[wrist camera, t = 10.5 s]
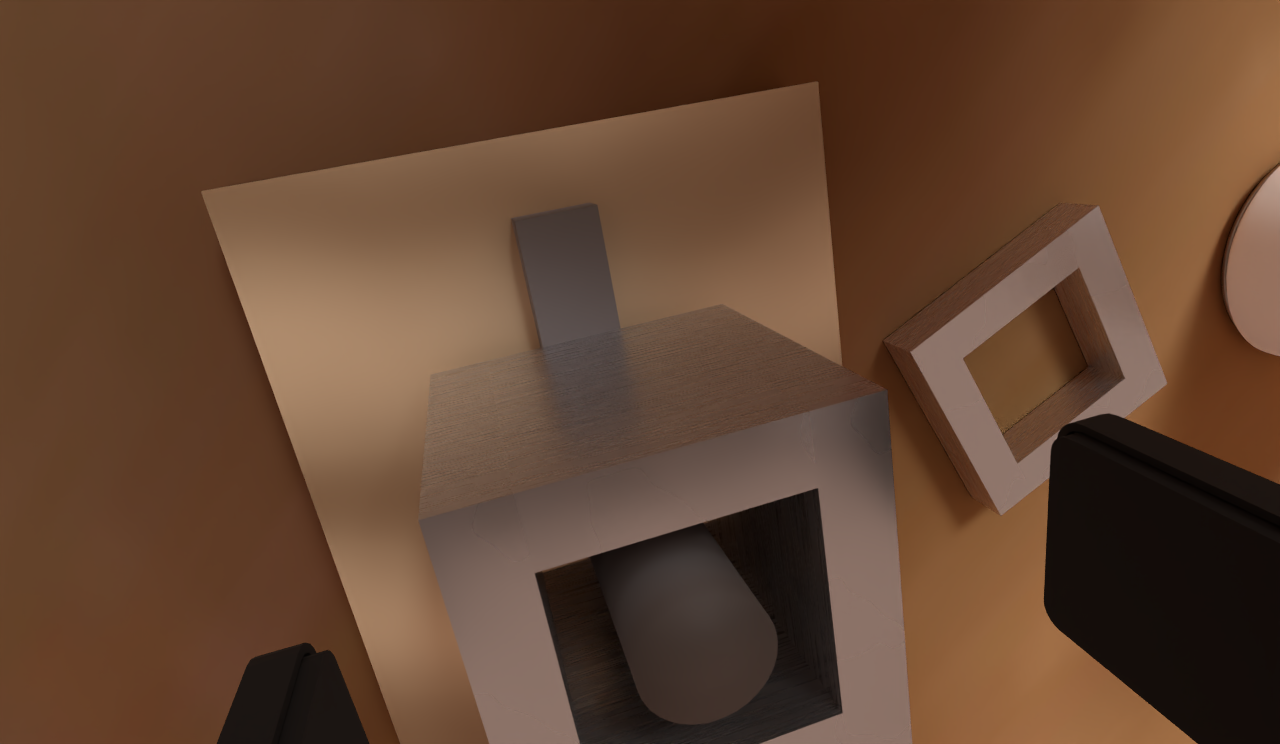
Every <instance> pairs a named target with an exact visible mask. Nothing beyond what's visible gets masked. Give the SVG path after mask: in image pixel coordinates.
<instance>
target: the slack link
mask: <svg viewBox="0 0 1280 744" xmlns="http://www.w3.org/2000/svg"><path fill="white" fill-rule="evenodd" d="M1052 288H1054V289H1055V291H1056V293H1057V295H1058V298H1059V300H1060V302H1061V305H1062V307H1063V309H1064V311H1065V314H1066V316H1067V318H1068V321H1069V323H1070V325H1071V328H1072V330H1073V332H1074V334H1075V337H1076V339H1077V341H1078V344H1079V346H1080V348H1081V350H1082V353H1083V355H1084V357H1085V360H1086V362H1087V364H1088V366H1089V367H1088V368H1086V369H1085V370H1084V371H1083V372H1081V373H1080V374H1079V375H1078V376H1076V377H1075V378H1074V379H1073V380H1071V381H1070V382H1069V383H1067V384H1066V385H1065V386H1064V387H1062V388H1061V389H1060V390H1059V391H1057V392H1056V393H1055V394H1054V395H1052V396H1051V397H1050V398H1048V399H1047V400H1046V401H1045V402H1043V403H1042V404H1041V405H1040V406H1038V407H1037V408H1036V409H1034V410H1033V411H1032V412H1031V413H1029V414H1028V415H1027V416H1026V417H1024V418H1023V419H1022V420H1021V421H1019V422H1018V423H1017V424H1015V425H1014V426H1013V427H1012V428H1010V429H1009V430H1008V431H1007V432H1005V433H1004V434H1003V435H1002V433H1001V431H1000V429H999V427H998V425H997V423H996V422H995V420H994V418H993V416H992V414H991V412H990V410H989V408H988V406H987V404H986V402H985V400H984V398H983V397H982V395H981V393H980V391H979V389H978V387H977V385H976V383H975V381H974V379H973V377H972V375H971V373H970V372H969V370H968V368H967V366H966V364H965V362H964V360H963V358H964V357H965V356H967V355H968V354H969V353H970V352H972V351H973V350H974V349H976V348H977V347H978V346H979V345H981V344H982V343H983V342H985V341H986V340H987V339H988V338H990V337H991V336H992V335H993V334H995V333H996V332H997V331H999V330H1000V329H1001V328H1002V327H1004V326H1005V325H1006V324H1008V323H1009V322H1010V321H1011V320H1013V319H1014V318H1015V317H1016V316H1018V315H1019V314H1020V313H1022V312H1023V311H1024V310H1025V309H1027V308H1028V307H1029V306H1031V305H1032V304H1033V303H1034V302H1036V301H1037V300H1038V299H1039V298H1041V297H1042V296H1043V295H1045V294H1046V293H1047V292H1048V291H1050V290H1051V289H1052ZM883 342H884V344H885V345H886V347H887V349H888V351H889V352H890V354H891V356H892V358H893V359H894V361H895V363H896V365H897V366H898V368H899V370H900V372H901V373H902V375H903V377H904V379H905V381H906V382H907V384H908V386H909V388H910V389H911V391H912V393H913V395H914V396H915V398H916V400H917V402H918V403H919V405H920V407H921V409H922V410H923V412H924V414H925V416H926V418H927V419H928V421H929V423H930V425H931V426H932V428H933V430H934V432H935V433H936V435H937V437H938V439H939V440H940V442H941V444H942V446H943V447H944V449H945V451H946V453H947V455H948V456H949V458H950V460H951V462H952V463H953V465H954V467H955V469H956V470H957V472H958V474H959V476H960V477H961V479H962V481H963V483H964V484H965V486H966V488H967V490H968V492H969V493H970V495H971V497H972V498H974V499H976V500H977V501H979V502H980V503H982V504H983V505H985V506H986V507H988V508H990V509H991V510H993V511H994V512H996V513H997V514H999V515H1003V514H1004V513H1005V512H1006V511H1008V510H1009V509H1010V508H1012V507H1013V506H1014V505H1015V504H1017V503H1018V502H1019V501H1020V500H1022V499H1023V498H1024V497H1025V496H1027V495H1028V494H1029V493H1030V492H1032V491H1033V490H1034V489H1035V488H1037V487H1038V486H1039V485H1041V484H1042V483H1043V482H1044V481H1046V480H1047V479H1048V478H1049V476H1050V455H1051V447H1052V444H1053V442H1054V441H1055V440H1056V439H1057V437H1058V433H1059V431H1060V430H1061V428H1062V427H1063V426H1065V425H1067V424H1069V423H1072V422H1076V421H1079V420H1083V419H1086V418H1090V417H1093V416H1096V415H1100V414H1107V413H1110V414H1114V415H1117V416H1120V417H1122V418H1125V417H1126V416H1127V415H1129V414H1130V413H1131V412H1132V411H1134V410H1135V409H1136V408H1137V407H1139V406H1140V405H1141V404H1143V403H1144V402H1145V401H1146V400H1148V399H1149V398H1150V397H1151V396H1153V395H1154V394H1155V393H1156V392H1158V391H1159V390H1160V389H1161V388H1163V387H1164V386H1165V385H1166V384H1167V381H1166V378H1165V376H1164V373H1163V371H1162V368H1161V366H1160V363H1159V360H1158V358H1157V355H1156V353H1155V350H1154V347H1153V345H1152V342H1151V340H1150V337H1149V335H1148V332H1147V329H1146V327H1145V324H1144V322H1143V319H1142V316H1141V314H1140V311H1139V309H1138V306H1137V303H1136V301H1135V298H1134V296H1133V293H1132V291H1131V288H1130V285H1129V283H1128V280H1127V278H1126V275H1125V272H1124V270H1123V267H1122V265H1121V262H1120V259H1119V257H1118V254H1117V252H1116V249H1115V247H1114V244H1113V241H1112V239H1111V236H1110V234H1109V231H1108V228H1107V226H1106V223H1105V221H1104V218H1103V215H1102V213H1101V210H1100V208H1099V205H1085V204H1070V203H1059V204H1058V205H1057V206H1056V207H1054V208H1053V209H1052V210H1050V211H1049V212H1048V213H1047V214H1045V215H1044V216H1043V217H1041V218H1040V219H1039V220H1038V221H1036V222H1035V223H1034V224H1032V225H1031V226H1030V227H1029V228H1027V229H1026V230H1025V231H1023V232H1022V233H1021V234H1020V235H1018V236H1017V237H1016V238H1014V239H1013V240H1012V241H1011V242H1009V243H1008V244H1007V245H1005V246H1004V247H1003V248H1002V249H1000V250H999V251H998V252H996V253H995V254H994V255H993V256H991V257H990V258H989V259H987V260H986V261H985V262H984V263H982V264H981V265H980V266H978V267H977V268H976V269H975V270H973V271H972V272H971V273H969V274H968V275H967V276H966V277H964V278H963V279H962V280H960V281H959V282H958V283H957V284H955V285H954V286H953V287H951V288H950V289H949V290H948V291H946V292H945V293H944V294H942V295H941V296H940V297H939V298H937V299H936V300H935V301H933V302H932V303H931V304H930V305H928V306H927V307H926V308H924V309H923V310H922V311H921V312H919V313H918V314H917V315H915V316H914V317H913V318H912V319H910V320H909V321H908V322H906V323H905V324H904V325H903V326H901V327H900V328H899V329H897V330H896V331H895V332H894V333H892V334H891V335H890V336H888V337H887V338H886V339H885V340H883Z"/></svg>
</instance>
